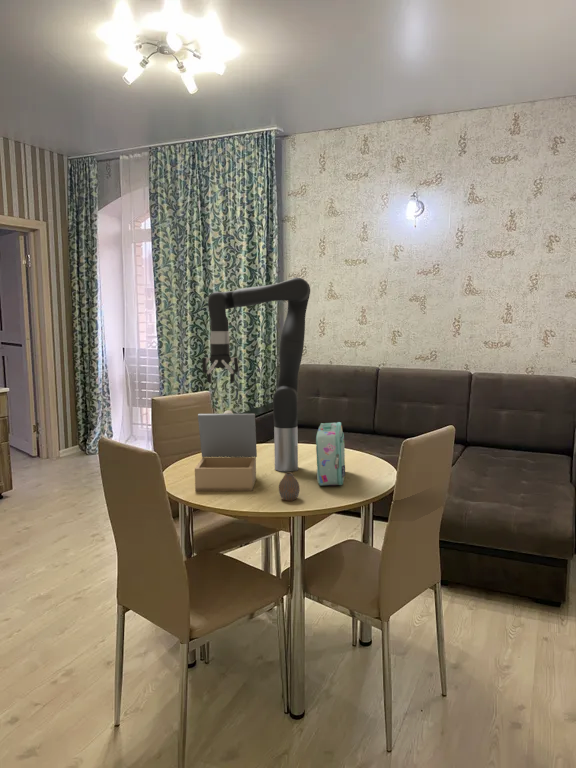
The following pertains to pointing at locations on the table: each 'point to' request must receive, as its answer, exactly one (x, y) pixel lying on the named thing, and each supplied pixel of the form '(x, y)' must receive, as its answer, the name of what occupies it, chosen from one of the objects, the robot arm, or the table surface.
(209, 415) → the lid
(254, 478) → the mailer box
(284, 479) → the vase
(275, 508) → the table surface
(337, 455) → the lunch box
